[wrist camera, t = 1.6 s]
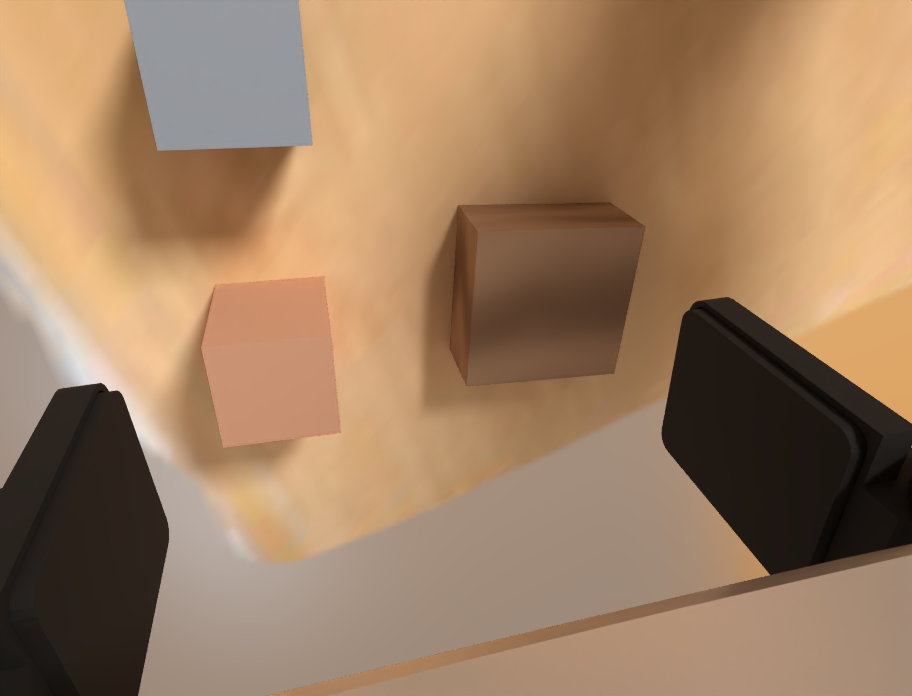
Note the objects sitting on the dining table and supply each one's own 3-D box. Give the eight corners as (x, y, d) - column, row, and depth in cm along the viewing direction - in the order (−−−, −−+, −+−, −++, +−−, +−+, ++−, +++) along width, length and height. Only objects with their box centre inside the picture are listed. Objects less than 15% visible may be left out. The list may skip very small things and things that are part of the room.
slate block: (154, -26, 23) (117, -27, 18) (294, -23, 24) (296, -24, 19) (183, 117, 26) (157, 150, 20) (307, 113, 27) (312, 145, 22)
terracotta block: (215, 284, 29) (200, 347, 24) (323, 275, 30) (331, 335, 25) (233, 373, 32) (223, 447, 27) (332, 363, 33) (340, 432, 28)
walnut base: (456, 203, 30) (477, 231, 27) (607, 200, 32) (645, 226, 29) (448, 346, 34) (466, 386, 31) (583, 336, 36) (614, 373, 33)
